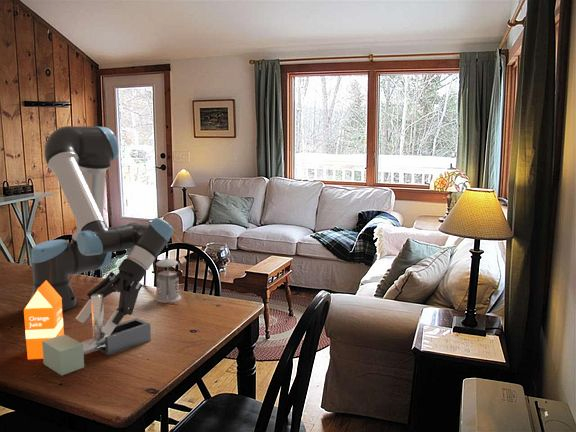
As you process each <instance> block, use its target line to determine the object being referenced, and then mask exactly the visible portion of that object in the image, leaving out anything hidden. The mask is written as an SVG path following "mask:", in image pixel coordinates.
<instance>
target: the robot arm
mask: <svg viewBox="0 0 576 432" xmlns="http://www.w3.org/2000/svg"><path fill="white" fill-rule="evenodd" d="M43 152H44V159H45V163H46V164H47V166H48V167H47V168H48V169H49V170H50V171H52V172H53V173H54V174H55V177H56V179H57V181H58V183H59V185H60V188H61V190H62V192H63V195H64V197H65V199H66V202H67V204H68V205H69V208H70V209H71V212H72V215H73V217H74V219H75V221H76V231H75V232H74V233H73V234H72V236H71V242H68V241H67V240H66V239H51V240H46V241H43V242H40V243H37V244H35V245H34V246H33V247H32V248H31V260H30V261H31V268H32V269H31V270H32V281H33V288H32V293H31V296H30V300H31V299H32V297H33V296H34V294H35V293H36V291H37V289H38V288H39V287H40V286H41V285H42V284H43V283H44V282H45V281H46V280H47V282H48V283H49V284H50V285H51V286H52V287H53V289H54V290H55V291H56V292H57V293H58V294H59V296H60V297H61V298H62V299H61V300H62V312H65V311H68V310H70V309H71V310H72V309H73V308H75V307H76V305H77V298H76V297H77V296H76V295H75V293H74V291H73V288H72V286H71V281H70V276H71V275H76V274H80V273H82V274H83V273H85V272H86V273H87V272H91V271H92V272H94V271H97V270H101V269H104V268H105V267H107V266H108V265H109V263H110V261H111V259H112V253H113V252H119V251H124V250H125V251H126V250H129V251H128V253H127V255H126V258H124V259H123V260H122V262H121V263H120V264H119V265H118V267H117V269H118V273H117V274H115V273H114V272H113V271H111V272H109V274H108V275H107V276H106V277H105V278H103V280H101V281H100V282H99V283H98V284H96V285H95V286H94V287H93V288H92V289H91V290H89V291H88V292H87V293H86V296H87V297H88V300H87V301H86V302H85V304H84V306H83V307H82V309H81V310H80V312H79V313H78V314H77V316H76V317H75V320H77V321H78V322H80V323H81V324H84V323H86V321H87V319H88V318H89V317H90V315H92V309H91V295H94V294H103V299H105V298H106V297H108V296H109V295H111V294H112V293H116V292H118V293H119V300H118V307H117V308H116V309H115V310H114V311H113V313H112V314H111V316H110V318H109V319H108V320H107V322H105V323H104V324H105V326H104V327H103V329H102V330H101V331H102V332H103V333H105V334H106V335H108V336H110V334H111V333H112V331H113V330H114V328H115V327H116V326H117V325H118V324H119V323H121V321H122V320H123V318H124V317H125V316H127V315H129V316H131V315H133V313H134V309H135V307H136V303H137V299H138V296H139V292H140V291H141V289H142V287H143V284H142V283H141V280H142V279H143V278H144V276H145V275H146V274H147V271H148V270H149V269H150V268H151V266H152V265H153V263H154V261H155V260H156V259H157V258H158V256H159V255H160V253H161V252H162V251H163V250H164V248H165V246H166V244H167V245H168V242H170V239H171V238H172V236H173V234H174V227H172V225H171V224H170V223H168V222H167V221H166V220H164V219H163V218H159V217H154V218H153V219H152V220H151V221H150V222H149V224H143V223H138V222H127V223H125V224H123V225H119V226H111V227H110V226H109V227H108V225H107V223H106V221H105V220H104V203H105V202H104V201H105V188H106V187H105V186H106V173H107V172H106V171H107V170H109V169H110V168H111V163H112V161H114V160H116V159H117V158H118V155H119V142H118V140H117V137H116V135H115V133H114V132H113V131H112V130H111V129H110V128H108V127H107V126H106V127H105V126H98V125H97V126H96V125H94V126H92V125H89V126H87V125H86V126H79V125H78V126H77V125H76V126H71V125H70V126H69V125H67V126H66V125H64V126H61V127H59V128H57V129H55V130H54V131H52V132H51V134H50V135H49V136H48V137H47V140H46V142H45V144H44V151H43Z"/></svg>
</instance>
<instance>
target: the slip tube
mask: <svg viewBox="0 0 576 432" xmlns="http://www.w3.org/2000/svg"><path fill="white" fill-rule="evenodd" d="M104 308H105V307H104V298H103V294H94V295H91V309H92V312H91V325H92V338H89V339H86V340H83V341H81V342H80V341H79V342H80V343H82V344H83V353H84V356H85V355H88V354H91V353H93V352H96V351H99V350H100V349H102V348H105V337H106V336H108V335H106V334H105V333H103V332H102V331H101V330H102V329H103V327H104V326H105V324H106V323H105V311H104V310H105V309H104Z"/></svg>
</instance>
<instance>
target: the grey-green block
mask: <svg viewBox="0 0 576 432" xmlns="http://www.w3.org/2000/svg"><path fill="white" fill-rule="evenodd" d="M42 349H43V359H42V360H43V362H42V363H43V365H45V366H46V367H48V368H49V369H51V370H52V371H53V372H55V373H57V374H58V375H60V376H64V375H68V374H70V373H72V372H75V371H78V370H81V369H83V368H85V355H84V353H83V344H82V343H80V341H78V340H76V339H74V338H73V337H71V336H69V335H67V334H65V333H64V334H63V335H60V336H57V337H54V338H50V339H47V340H44V341H42Z"/></svg>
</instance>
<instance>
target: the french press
mask: <svg viewBox="0 0 576 432" xmlns="http://www.w3.org/2000/svg"><path fill="white" fill-rule="evenodd" d="M165 246H166V247H168V243H167V244H166V245H165ZM178 264H179V262H178V261H177V260H175V259H173V258H169V257H166V258H162V259H161V260H160V259H159V260H158V261H157V262H156V263H155V265H156V266H157V267H160V268H166V270H165V269H164V270H163V271H159V272H158V273H157V277H156V283H157V284H156V286H157V287H156V288H157V290H156V291H157V296H156V297H155V298H154V300H155V301H156V302H157V303H164V304H165V303H167V304H168V303H175V302H178V301H180V300H182V296H181V295H180V293H179V292H180V291H179V289H180V288H179V276H178V272H177V271H172V270H169V268H171V267H175V266H178Z"/></svg>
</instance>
